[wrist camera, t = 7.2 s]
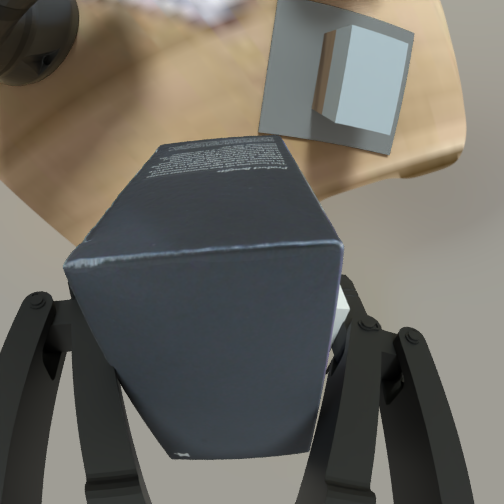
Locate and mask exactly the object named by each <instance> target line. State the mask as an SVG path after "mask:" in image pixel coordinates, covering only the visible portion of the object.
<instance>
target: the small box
mask: <svg viewBox="0 0 504 504" xmlns="http://www.w3.org/2000/svg"><path fill="white" fill-rule="evenodd" d="M343 255H344V245H343V243H342V241H341V240H340V239H339V237H338V235H337V233H336V231H335V229H334V227H333V226H332V224H331V222H330V220H329V219H328V217H327V216H326V213H325V212H324V210H323V208H322V206H321V204H320V203H319V201H318V199H317V198H316V196H315V194H314V192H313V191H312V189H311V187H310V185H309V184H308V182H307V180H306V179H305V177H304V175H303V174H302V172H301V170H300V169H299V167H298V165H297V163H296V162H295V160H294V158H293V157H292V155H291V153H290V151H289V150H288V148H287V146H286V145H285V143H284V141H283V140H282V138H281V137H280V136H279V135H267V136H244V137H229V138H217V139H207V140H198V141H187V142H179V143H171V144H164V145H160V146H159V147H158V148H157V150H156V151H155V153H154V154H153V155H152V156H151V157H150V159H149V160H148V161H147V162H146V163H145V164H144V165H143V167H142V169H141V170H139V171H138V173H137V174H136V175H135V176H134V178H133V179H132V180H131V181H130V182H129V183H128V185H127V186H126V187H125V188H124V189H123V191H122V192H121V193H120V194H119V195H118V197H117V199H116V200H115V201H114V202H113V203H112V205H111V207H110V208H109V209H107V210H106V212H105V214H104V215H103V216H102V218H101V219H100V220H99V221H98V223H97V224H96V226H94V227H93V228H92V229H91V231H90V232H89V233H88V234H87V236H86V237H85V238H84V240H83V242H82V243H81V244H79V245H78V246H77V247H76V249H74V250H73V251H72V253H71V254H70V255H69V257H68V258H67V259H66V261H65V263H64V265H63V269H64V272H65V275H66V277H67V279H68V282H69V284H70V287H71V289H72V291H73V293H74V295H75V297H76V300H77V302H78V304H79V306H80V309H81V311H82V313H83V315H84V317H85V319H86V321H87V323H88V325H89V327H90V329H91V331H92V333H93V335H94V337H95V339H96V341H97V343H98V345H99V347H100V348H101V350H102V352H103V354H104V356H105V358H106V360H107V362H108V363H109V365H111V366H113V367H114V370H115V374H116V377H117V379H118V381H119V382H120V384H121V386H122V387H123V389H124V391H125V392H126V394H127V395H128V397H129V398H130V400H131V402H132V404H133V405H134V407H135V408H136V410H137V411H138V413H139V414H140V416H141V417H142V419H143V420H144V422H145V423H146V425H147V426H148V428H149V429H150V430H151V432H152V433H153V435H154V436H155V438H156V439H157V440H158V442H159V443H160V445H161V446H162V447H163V449H164V450H165V451H166V453H167V454H168V455H169V457H170V458H171V459H189V460H203V459H204V460H214V459H244V458H257V457H271V456H281V455H291V454H298V453H305V452H309V450H310V446H311V442H312V437H313V433H314V428H315V423H316V419H317V413H318V409H319V404H320V399H321V394H322V389H323V383H324V378H325V373H326V367H327V362H328V357H329V351H330V345H331V339H332V333H333V327H334V321H335V315H336V308H337V302H338V295H339V287H340V279H341V272H342V264H343Z"/></svg>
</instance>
